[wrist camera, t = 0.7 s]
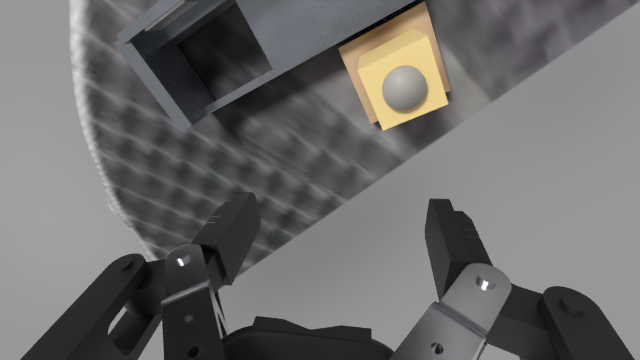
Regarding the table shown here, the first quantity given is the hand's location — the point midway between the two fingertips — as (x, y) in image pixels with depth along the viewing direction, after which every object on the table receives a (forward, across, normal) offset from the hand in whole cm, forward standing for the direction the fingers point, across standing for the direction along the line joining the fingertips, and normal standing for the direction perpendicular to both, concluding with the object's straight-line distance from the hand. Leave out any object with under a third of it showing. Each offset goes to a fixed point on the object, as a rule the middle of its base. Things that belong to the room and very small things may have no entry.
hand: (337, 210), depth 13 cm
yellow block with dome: (+18, -4, -3) cm, 19 cm away
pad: (+20, -4, -3) cm, 20 cm away
